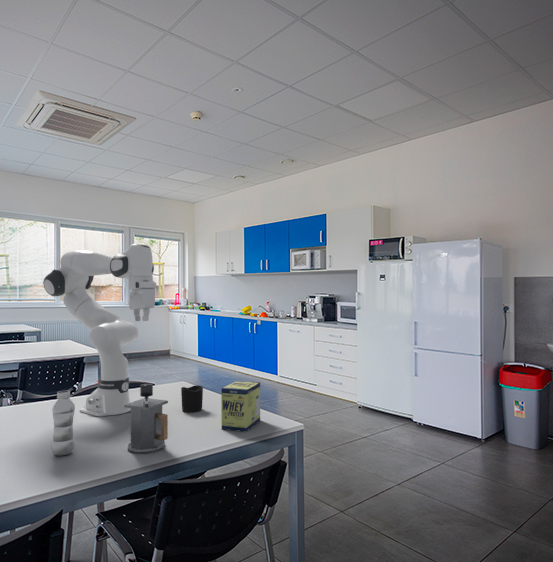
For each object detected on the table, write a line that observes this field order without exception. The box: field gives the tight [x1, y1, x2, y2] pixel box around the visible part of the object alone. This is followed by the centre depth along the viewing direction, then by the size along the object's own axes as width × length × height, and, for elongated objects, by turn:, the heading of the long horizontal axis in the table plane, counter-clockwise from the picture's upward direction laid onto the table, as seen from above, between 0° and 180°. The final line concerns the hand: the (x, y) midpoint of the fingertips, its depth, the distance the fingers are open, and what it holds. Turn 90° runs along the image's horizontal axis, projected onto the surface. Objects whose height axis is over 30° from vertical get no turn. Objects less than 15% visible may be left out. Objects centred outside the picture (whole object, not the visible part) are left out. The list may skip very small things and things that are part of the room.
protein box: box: [220, 380, 261, 432], centre depth 168 cm, size 10×16×16 cm
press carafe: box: [124, 397, 169, 455], centre depth 144 cm, size 14×12×15 cm
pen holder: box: [180, 384, 204, 414], centre depth 189 cm, size 9×9×10 cm
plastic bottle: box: [51, 390, 76, 457], centre depth 138 cm, size 6×7×20 cm
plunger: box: [139, 383, 154, 404], centre depth 144 cm, size 8×8×18 cm
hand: (141, 321), depth 165 cm, fingers open, 8 cm apart
